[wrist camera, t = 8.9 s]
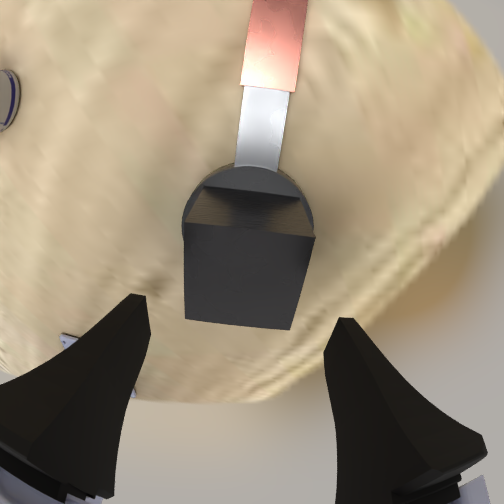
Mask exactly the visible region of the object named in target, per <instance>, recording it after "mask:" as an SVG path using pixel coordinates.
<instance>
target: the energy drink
mask: <svg viewBox="0 0 504 504" xmlns="http://www.w3.org/2000/svg"><path fill="white" fill-rule="evenodd" d="M19 97H20V90H19V83H18V80H17V78H16V76H15V75H14V74H13V72H11V71H10V70H0V132H2V131H3V130H5V129H6V128H7V127H8V126H9V125H10V123H11V122H12V120H13V118H14V116H15V114H16V111H17V108H18V104H19Z"/></svg>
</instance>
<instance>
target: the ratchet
mask: <svg viewBox="0 0 504 504" xmlns="http://www.w3.org/2000/svg"><path fill="white" fill-rule="evenodd" d="M307 3H308V0H253V5H252V11H251V17H250V23H249V30H248V36H247V42H246V49H245V56H244V63H243V70H242V77H241V84H240V85H241V86H244V93H243V101H242V108H241V116H240V124H239V132H238V140H237V148H236V157H235V163H232V164H229V165H226V166H223V167H221V168H219V169H217V170H215V171H213V172H212V173H210V174H209V175H207V176H206V177H205V178H204V179H203V180H202V181H201V182H200V184H199V185H198V186H197V187H196V189H195V190H194V192H193V193H192V195H191V197H190V198H189V200H188V202H187V204H186V206H185V209H184V213H183V217H182V235H183V240H184V221H185V220H186V218H187V216H188V214H189V212H190V211H191V209H192V207H193V205H194V204H195V202H196V200H197V198H198V197H199V195H200V193H201V191H202V190H203V188H204V186H212V187H221V188H231V189H240V190H248V191H256V192H264V193H272V194H279V195H286V196H293V197H299V198H300V200H301V202H302V205H303V207H304V210H305V212H306V215H307V217H308V220H309V222H310V225H311V227H312V230H313V227H314V225H313V217H312V213H311V210H310V207H309V205H308V203H307V200H306V198H305V196H304V194H303V192H302V191H301V189H300V188H299V186H298V185H297V184H296V183H295V182H294V180H292V179H291V178H290V177H289V176H288V175H287V174H285V173H284V172H282V171H281V170H279V169H278V163H279V157H280V151H281V145H282V138H283V132H284V126H285V119H286V113H287V107H288V100H289V94H290V93H293V92H295V85H296V79H297V72H298V66H299V59H300V52H301V45H302V39H303V32H304V25H305V17H306V10H307Z"/></svg>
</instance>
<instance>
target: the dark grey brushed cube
mask: <svg viewBox="0 0 504 504" xmlns="http://www.w3.org/2000/svg"><path fill="white" fill-rule="evenodd" d="M315 238H316V237H315V235H314V232H313V230H312V227H311V225H310V222H309V220H308V217H307V215H306V212H305V210H304V207H303V205H302V202H301V200H300V198H299V197H293V196H286V195H279V194H272V193H264V192H256V191H248V190H240V189H231V188H221V187H212V186H204V188H203V190H202V191H201V193H200V195H199V197H198V198H197V200H196V202H195V204H194V205H193V207H192V209H191V211H190V212H189V214H188V216H187V218H186V220H185V221H184V302H185V319H189V320H196V321H204V322H212V323H220V324H228V325H237V326H247V327H257V328H268V329H280V330H290V328H291V324H292V321H293V318H294V314H295V311H296V308H297V304H298V301H299V297H300V294H301V290H302V287H303V283H304V279H305V276H306V272H307V268H308V265H309V261H310V257H311V253H312V249H313V245H314V242H315Z"/></svg>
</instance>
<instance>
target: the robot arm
mask: <svg viewBox="0 0 504 504" xmlns="http://www.w3.org/2000/svg"><path fill="white" fill-rule="evenodd" d="M150 336H151V331H150V324H149V317H148V310H147V303H146V296H143V295H137V294H132V293H131V294H129V295H128V296H127V297H126V298H125V299H124V300H122V301H121V302H120V303H119V304H118V305H117V306H116V307H115V308H114V309H113V310H111V311H110V312H109V313H108V314H107V315H106V316H105V317H104V318H103V319H101V320H100V321H99V322H98V323H97V324H96V325H95V326H94V327H92V328H91V329H90V330H89V331H88V332H87V333H85V334H84V335H83V336H82V337H80V338H79V339H78V338H74V337H71V336H68V335H64V334H61V335H60V336H59V338H60V340H61V342H62V344H63V347H64V349H65V350H64V351H62V352H61V353H59V354H58V355H56V356H55V357H53V358H52V359H50V360H49V361H47V362H45V363H43V364H42V365H40V366H38V367H37V368H35V369H33V370H31V371H30V372H28V373H26V374H24V375H22V376H20V377H17V378H15V379H13V380H11V381H8V382H6V383H4V384H1V385H0V504H101V503H102V500H103V498H105V499H109V498H111V497H113V496H114V485H115V470H116V462H117V454H118V447H119V441H120V435H121V430H122V425H123V420H124V416H125V411H126V408H127V405H128V402H129V399H130V397H132V398H135V397H136V393H135V390H134V385H135V383H136V380H137V378H138V375H139V372H140V370H141V367H142V364H143V362H144V359H145V356H146V352H147V348H148V344H149V340H150ZM323 353H324V368H325V377H326V382H327V386H328V392H329V397H330V402H331V407H332V412H333V416H334V422H335V429H336V440H337V490H336V501H335V504H490V500H489V496H488V491H487V487H486V484H485V480H484V476H483V475H481V476H479V477H477V478H475V479H474V480H472V481H470V482H468V483H466V484H464V485H462V486H460V487H458V484H457V482H459V481H461V479H462V478H461V475H460V473H461V472H463V471H465V470H466V469H468V468H470V467H471V466H473V465H474V464H476V463H477V462H479V461H480V460H482V459H483V458H484V457H486V456H487V453H488V452H487V449H486V446H485V443H484V440H483V437H482V435H481V434H479V433H477V432H475V431H473V430H471V429H469V428H467V427H465V426H464V425H462V424H460V423H459V422H457V421H455V420H454V419H452V418H451V417H449V416H448V415H446V414H445V413H443V412H442V411H441V410H439V409H438V408H437V407H436V406H434V405H433V404H432V403H430V402H429V401H428V400H427V399H426V398H424V397H423V396H422V395H421V394H420V393H419V392H418V391H417V390H416V389H415V388H414V387H413V386H411V385H410V384H409V383H408V382H407V381H406V380H405V379H404V378H403V376H402V375H401V374H400V373H399V372H398V371H397V370H396V369H395V368H394V367H393V365H392V364H391V363H390V362H389V361H388V360H387V358H386V357H385V356H384V355H383V354H382V352H381V351H380V350H379V349H378V348H377V346H376V345H375V344H374V343H373V341H372V340H371V339H370V338H369V336H368V335H367V334H366V333H365V331H364V330H363V329H362V328H361V326H360V325H359V324H358V323H357V322H356V320H355V319H354V318H342V317H339V318H338V321H337V323H336V325H335V328H334V330H333V332H332V335H331V337H330V339H329V341H328V344H327V346H326V348H325V350H324V352H323Z"/></svg>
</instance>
